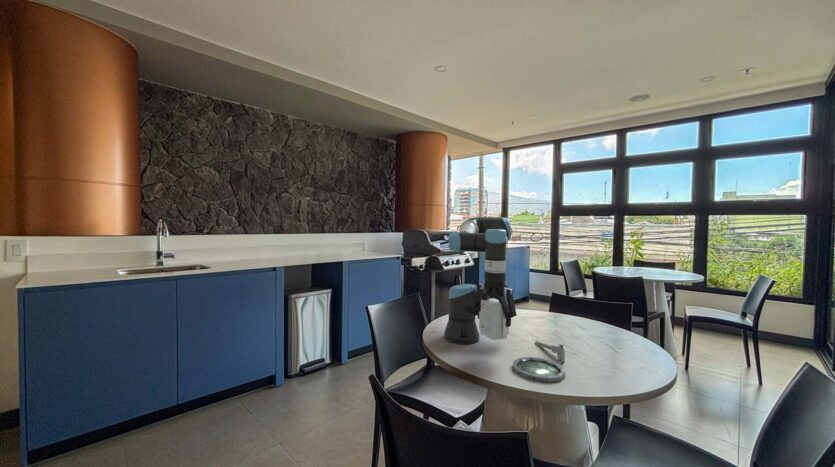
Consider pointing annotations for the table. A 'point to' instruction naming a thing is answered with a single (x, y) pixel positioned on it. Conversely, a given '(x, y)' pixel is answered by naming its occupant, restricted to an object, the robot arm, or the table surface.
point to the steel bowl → (538, 369)
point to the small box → (492, 319)
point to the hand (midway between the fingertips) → (493, 331)
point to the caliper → (554, 350)
